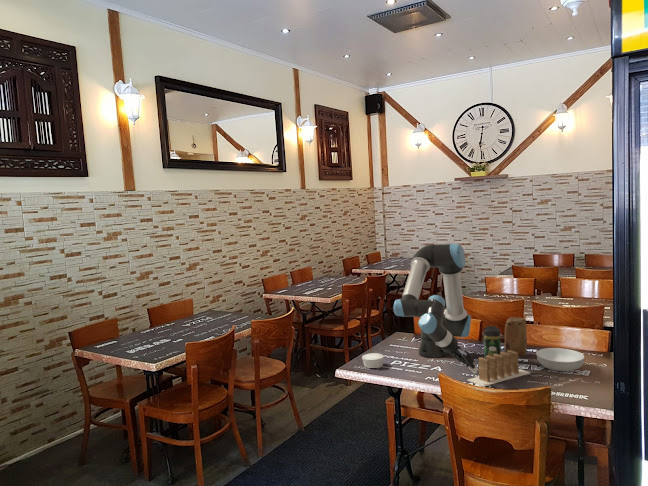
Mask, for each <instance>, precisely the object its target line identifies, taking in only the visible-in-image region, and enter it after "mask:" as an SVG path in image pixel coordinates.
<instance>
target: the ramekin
mask: <svg viewBox="0 0 648 486" xmlns="http://www.w3.org/2000/svg"><path fill="white" fill-rule="evenodd" d="M384 359H385V355H383V354H382V353H378V352H371V353H369V352H368V353H366V354H363V355H362V356H361V360H362V363H363V366H364V367H365V368H366V367H367V368H366V369H369V368H377V369H380V368H382V367H383V366H384Z"/></svg>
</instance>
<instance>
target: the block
mask: <svg viewBox="0 0 648 486" xmlns="http://www.w3.org/2000/svg"><path fill="white" fill-rule="evenodd" d="M527 334H528V332H527V321H526V318H523V317H519V316H517V317H516V316H510V317H509V318H507V320H506V322H505V325H504V352H505V353H507V351H508V350H511V351H515V352H518V358H525V357H526V356H527V347H528V346H527V345H528V341H527V340H528V337H527Z"/></svg>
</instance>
